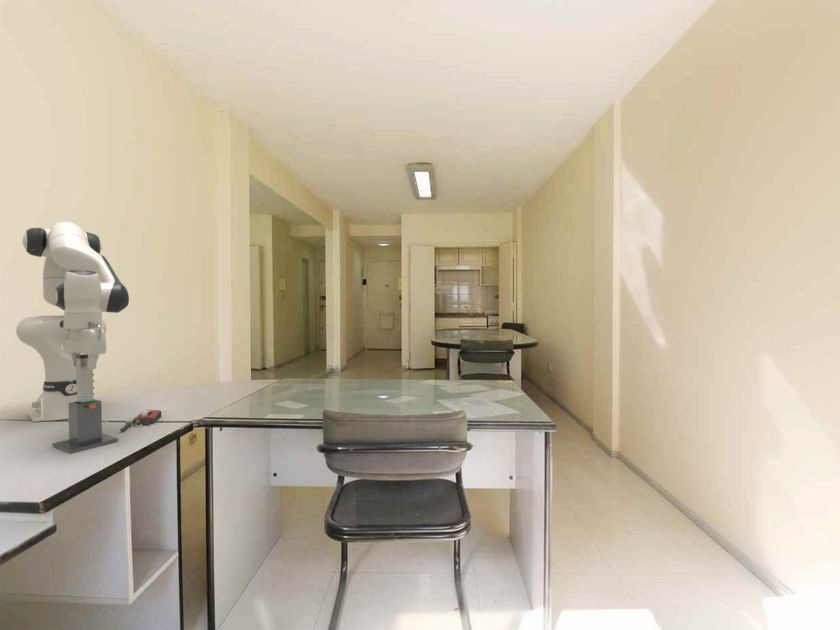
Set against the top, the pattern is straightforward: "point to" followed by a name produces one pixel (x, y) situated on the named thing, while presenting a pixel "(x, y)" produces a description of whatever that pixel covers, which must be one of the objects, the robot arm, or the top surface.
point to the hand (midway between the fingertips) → (84, 367)
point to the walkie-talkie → (143, 418)
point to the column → (84, 380)
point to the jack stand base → (84, 428)
